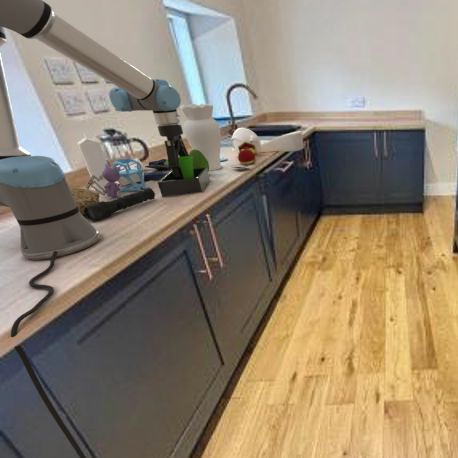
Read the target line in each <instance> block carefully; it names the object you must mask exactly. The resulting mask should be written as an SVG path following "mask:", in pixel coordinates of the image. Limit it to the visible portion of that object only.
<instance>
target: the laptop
mask: <svg viewBox="0 0 458 458" xmlns="http://www.w3.org/2000/svg"><path fill="white" fill-rule="evenodd" d="M230 169H235V170H250V169H251V167H248V166H247V167H246V166H241V165H236V166H234V165H231V166H230Z"/></svg>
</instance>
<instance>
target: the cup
mask: <svg viewBox="0 0 458 458" xmlns="http://www.w3.org/2000/svg"><path fill="white" fill-rule="evenodd" d="M192 159H193V157H189V156H185V157H180V156H179V167H181V171H182V174H183V177H184V179H189V178H194V173H193V163H192ZM166 162H168V160H166ZM168 164H169V163H168ZM171 170H172V169H171ZM172 172H173V171H172Z"/></svg>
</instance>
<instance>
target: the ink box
mask: <svg viewBox="0 0 458 458" xmlns="http://www.w3.org/2000/svg"><path fill="white" fill-rule="evenodd" d="M133 159H134V160H136V161H138V162H139V168H140V169H141V170H143V172H142V175H143V179H144V169H145V165H144V164H143V163H142V162H141V160H140V159H139V158H138V157H136V158H133ZM125 165H127V164H125ZM129 166H130V168H131V169H134V170H138V169H137V167H136V166H137V164H136V163H135V162H130V163H129ZM117 168H118V169H119V171H120V172H123V171H126V170H125V167H123V166H120V165H118V166H117ZM127 169H128V167H127ZM119 178H120V179H119V180H118V181H117V182H118V183H119V184H120V186H121V187H126V186H129V185H132V183H130V182H129V181H128V180H127V179H126V178H124V177H122V176H120V177H119ZM130 178H131V180H132V181H133V182H134V183H138V182H141V181H140V178H139V176H138V174H137V173H136V174H133V175H131V176H130Z"/></svg>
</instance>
